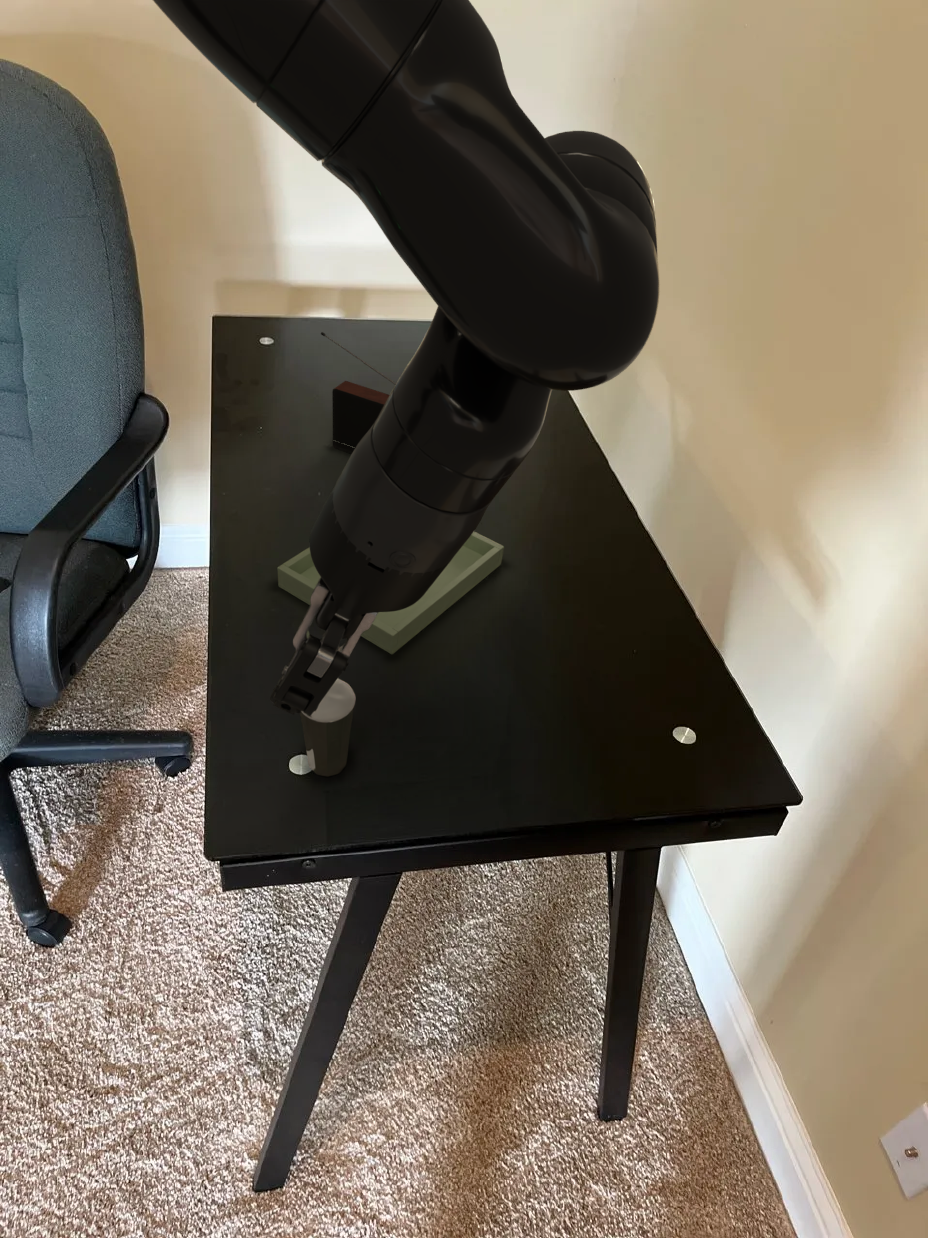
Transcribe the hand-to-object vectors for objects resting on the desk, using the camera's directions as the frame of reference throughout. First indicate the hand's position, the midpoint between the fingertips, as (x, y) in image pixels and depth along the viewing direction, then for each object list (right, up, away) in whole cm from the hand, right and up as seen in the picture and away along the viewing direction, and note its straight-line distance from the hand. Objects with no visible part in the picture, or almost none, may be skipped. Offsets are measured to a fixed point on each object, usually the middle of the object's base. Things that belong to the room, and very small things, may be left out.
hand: (307, 653), depth 57 cm
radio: (0, +23, +52) cm, 57 cm away
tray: (+3, +7, +34) cm, 35 cm away
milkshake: (-1, -10, +15) cm, 18 cm away
